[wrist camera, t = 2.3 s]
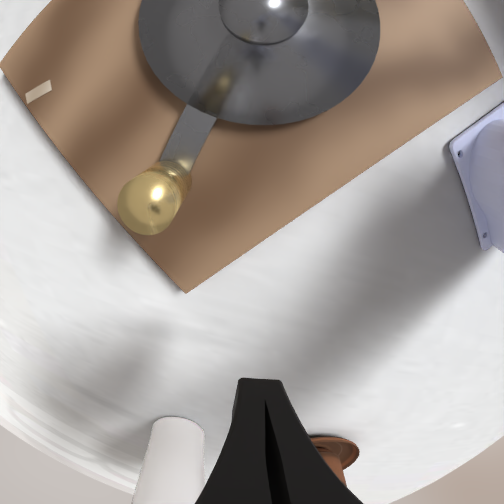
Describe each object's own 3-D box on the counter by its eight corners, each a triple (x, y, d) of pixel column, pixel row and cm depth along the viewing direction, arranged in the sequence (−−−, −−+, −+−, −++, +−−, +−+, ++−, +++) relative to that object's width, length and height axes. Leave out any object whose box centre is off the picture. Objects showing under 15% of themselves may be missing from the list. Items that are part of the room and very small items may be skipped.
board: (492, 76, 14) (503, 77, 13) (188, 283, 20) (185, 294, 19) (322, -131, 6) (326, -139, 5) (9, 65, 12) (-2, 65, 11)
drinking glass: (208, 446, 29) (203, 568, 16) (147, 436, 28) (128, 556, 15) (216, 415, 26) (211, 563, 13) (145, 403, 25) (116, 548, 12)
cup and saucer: (326, 471, 34) (333, 507, 29) (243, 468, 32) (245, 509, 27) (374, 427, 29) (388, 470, 24) (278, 423, 27) (284, 476, 22)
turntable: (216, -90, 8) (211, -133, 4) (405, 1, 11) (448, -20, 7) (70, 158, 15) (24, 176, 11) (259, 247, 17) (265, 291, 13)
